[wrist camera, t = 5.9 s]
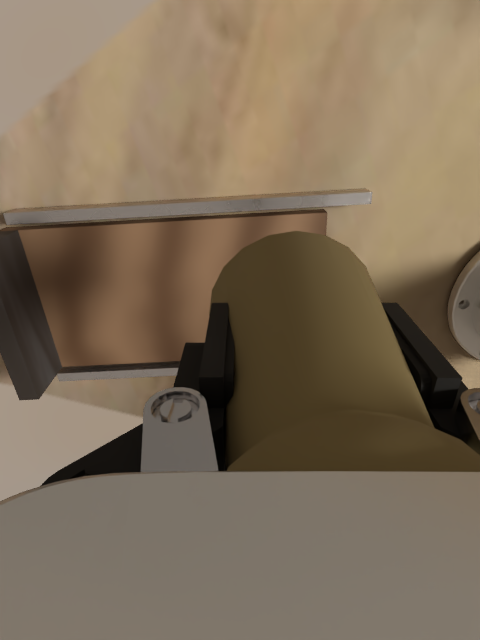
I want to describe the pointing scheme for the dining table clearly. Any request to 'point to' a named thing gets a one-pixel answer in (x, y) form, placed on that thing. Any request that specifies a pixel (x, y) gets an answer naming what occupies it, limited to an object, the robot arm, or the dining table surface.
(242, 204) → the rails
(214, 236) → the brown tray
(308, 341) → the cork
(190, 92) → the dining table surface
